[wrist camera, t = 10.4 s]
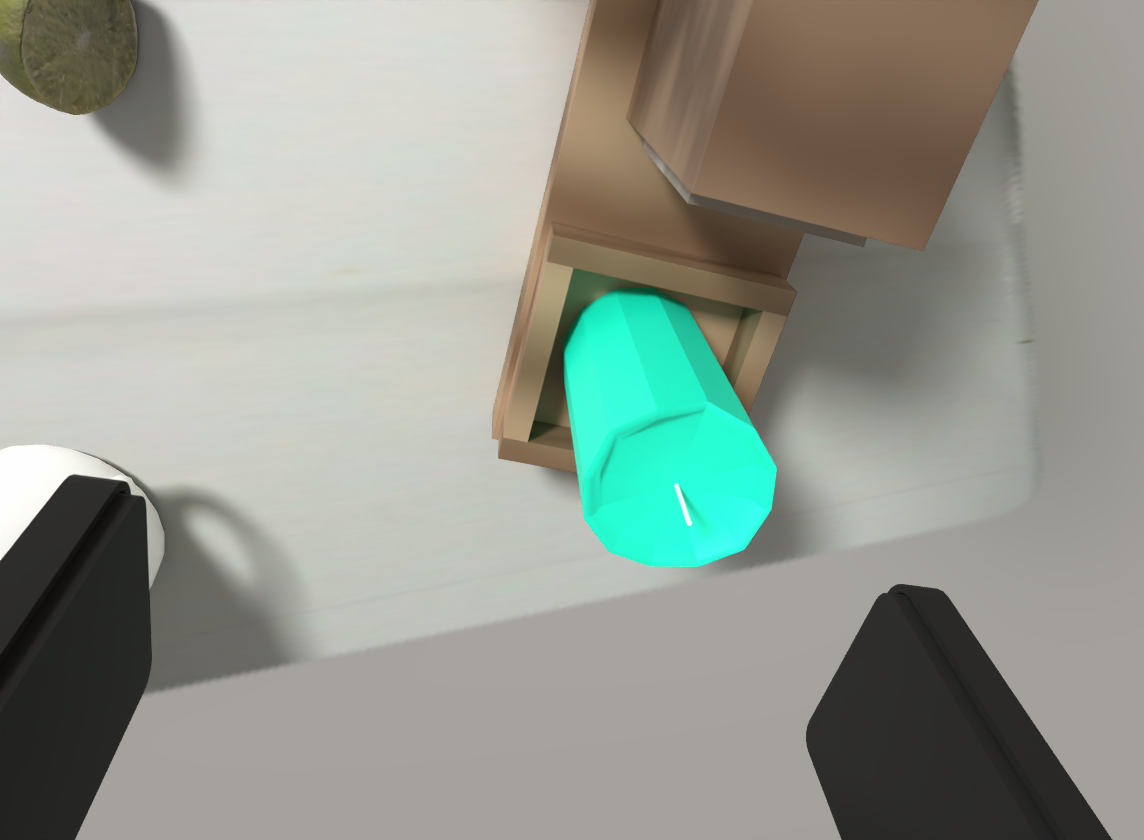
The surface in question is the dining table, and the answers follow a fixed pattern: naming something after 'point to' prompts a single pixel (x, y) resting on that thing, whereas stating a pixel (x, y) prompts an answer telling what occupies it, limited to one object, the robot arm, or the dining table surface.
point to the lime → (68, 50)
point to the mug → (34, 472)
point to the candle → (660, 434)
